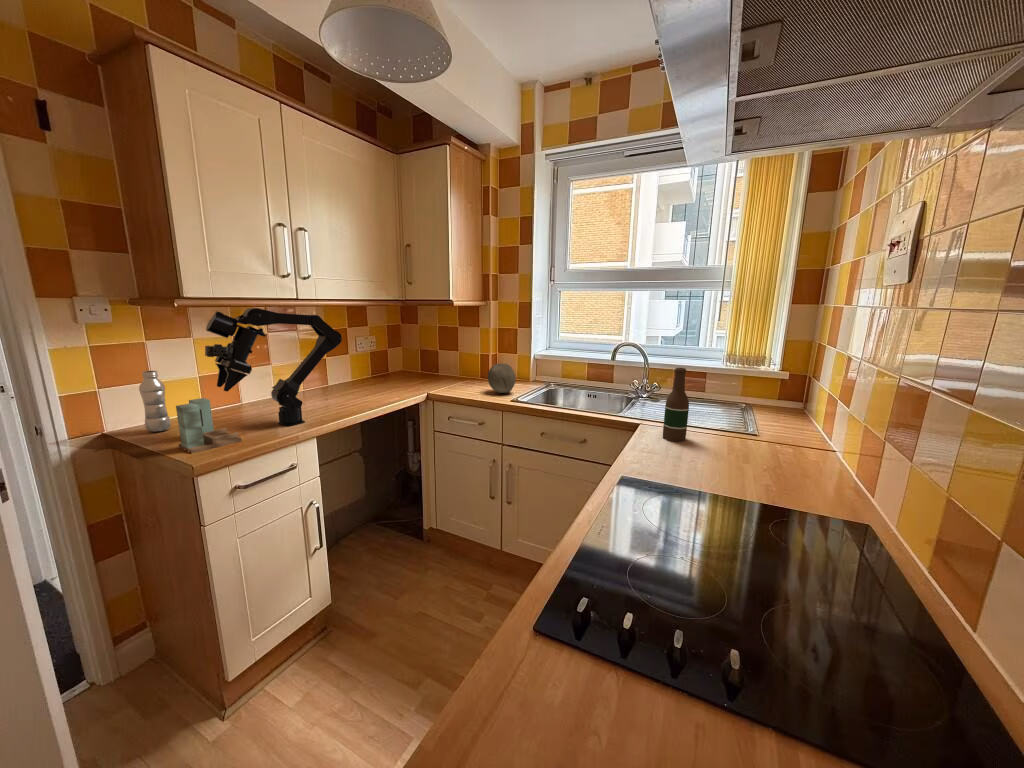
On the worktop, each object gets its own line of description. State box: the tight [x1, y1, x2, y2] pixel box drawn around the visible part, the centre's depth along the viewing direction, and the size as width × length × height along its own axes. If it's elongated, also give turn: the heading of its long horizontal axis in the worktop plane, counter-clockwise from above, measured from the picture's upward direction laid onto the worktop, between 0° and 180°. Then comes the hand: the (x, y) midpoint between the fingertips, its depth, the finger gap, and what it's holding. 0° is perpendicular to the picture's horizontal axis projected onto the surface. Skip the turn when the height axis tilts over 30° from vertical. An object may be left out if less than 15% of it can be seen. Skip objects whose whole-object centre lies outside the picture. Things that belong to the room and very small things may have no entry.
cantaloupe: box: [487, 363, 516, 394], centre depth 200 cm, size 14×14×15 cm
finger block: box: [188, 397, 214, 433], centre depth 129 cm, size 5×4×12 cm
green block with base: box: [175, 403, 242, 454], centre depth 123 cm, size 13×9×13 cm
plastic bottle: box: [138, 370, 171, 433], centre depth 133 cm, size 6×7×20 cm
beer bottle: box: [662, 367, 690, 443], centre depth 135 cm, size 8×8×24 cm
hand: (221, 388), depth 130 cm, fingers open, 9 cm apart
